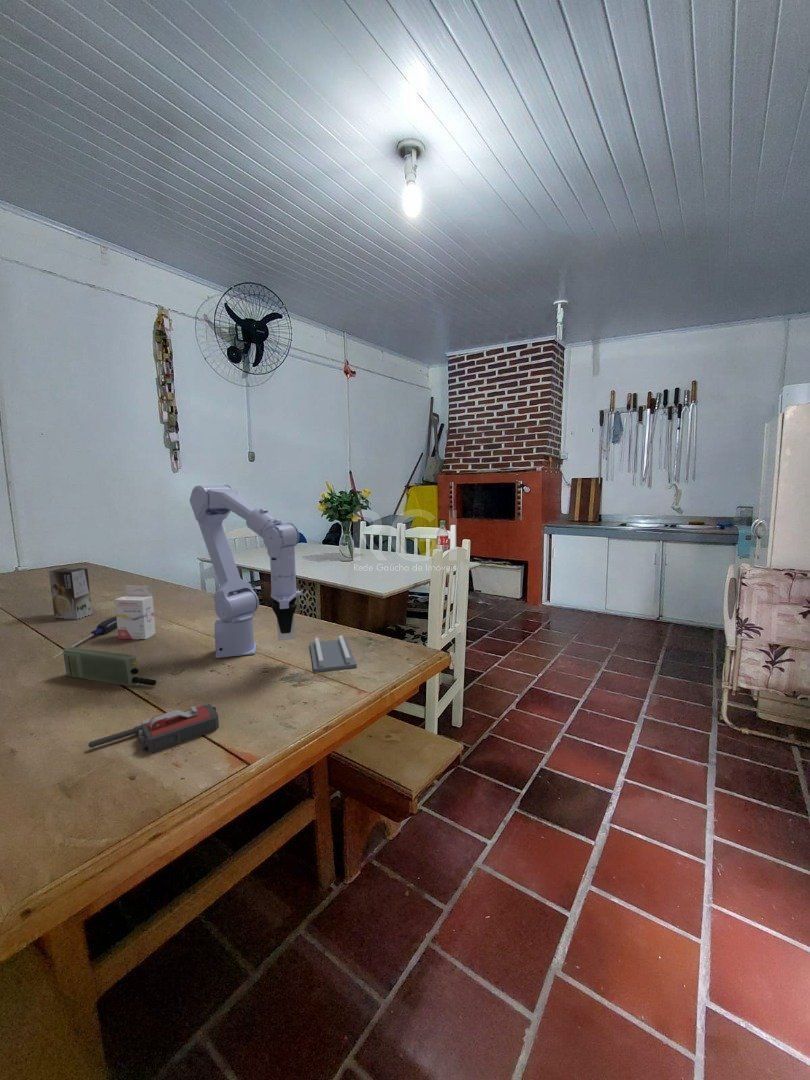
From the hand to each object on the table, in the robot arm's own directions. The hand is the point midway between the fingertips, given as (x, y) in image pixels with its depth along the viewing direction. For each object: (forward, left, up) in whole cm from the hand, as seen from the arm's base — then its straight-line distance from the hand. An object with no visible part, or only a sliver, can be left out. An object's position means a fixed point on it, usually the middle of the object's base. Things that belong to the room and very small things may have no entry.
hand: (285, 629), depth 108 cm
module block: (0, 0, -2) cm, 2 cm away
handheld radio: (-38, +1, -9) cm, 40 cm away
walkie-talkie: (-22, -27, -9) cm, 36 cm away
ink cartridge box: (-42, +32, -9) cm, 54 cm away
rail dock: (+11, +2, -9) cm, 14 cm away
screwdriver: (-54, +32, -9) cm, 64 cm away
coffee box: (-69, +60, -9) cm, 92 cm away
